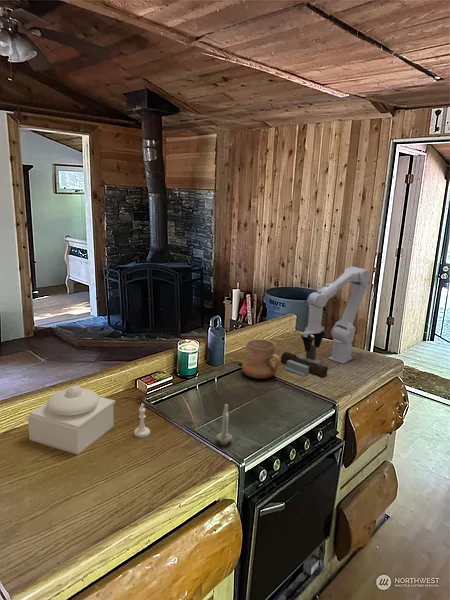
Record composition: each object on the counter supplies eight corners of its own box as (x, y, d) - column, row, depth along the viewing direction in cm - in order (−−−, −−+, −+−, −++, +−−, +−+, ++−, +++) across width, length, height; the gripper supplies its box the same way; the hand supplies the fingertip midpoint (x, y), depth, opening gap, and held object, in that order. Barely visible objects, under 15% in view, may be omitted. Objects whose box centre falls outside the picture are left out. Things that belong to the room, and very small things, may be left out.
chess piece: (152, 430, 138) (153, 401, 135) (145, 438, 133) (145, 408, 131) (139, 427, 139) (139, 398, 137) (130, 435, 135) (130, 405, 132)
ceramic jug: (232, 373, 184) (233, 341, 181) (252, 364, 195) (254, 334, 191) (267, 387, 173) (269, 353, 170) (286, 377, 184) (289, 345, 180)
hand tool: (328, 376, 188) (329, 363, 186) (322, 378, 184) (323, 366, 183) (285, 360, 203) (286, 349, 202) (278, 363, 199) (279, 351, 198)
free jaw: (301, 361, 201) (303, 342, 199) (320, 368, 195) (322, 348, 192) (296, 364, 198) (298, 344, 196) (315, 370, 192) (317, 350, 189)
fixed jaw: (289, 366, 195) (290, 359, 194) (309, 373, 188) (309, 366, 187) (284, 369, 192) (284, 361, 191) (303, 376, 185) (304, 368, 184)
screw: (215, 438, 135) (230, 438, 136) (217, 447, 130) (233, 446, 131) (217, 400, 132) (232, 399, 133) (219, 408, 127) (235, 407, 128)
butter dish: (29, 440, 130) (26, 391, 126) (71, 413, 146) (69, 369, 142) (77, 455, 124) (76, 404, 120) (115, 425, 140) (115, 379, 136)
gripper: (316, 315, 200) (313, 343, 204) (298, 320, 190) (295, 350, 193) (329, 318, 196) (326, 347, 199) (312, 324, 185) (309, 354, 189)
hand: (312, 349), depth 196 cm, fingers open, 7 cm apart
